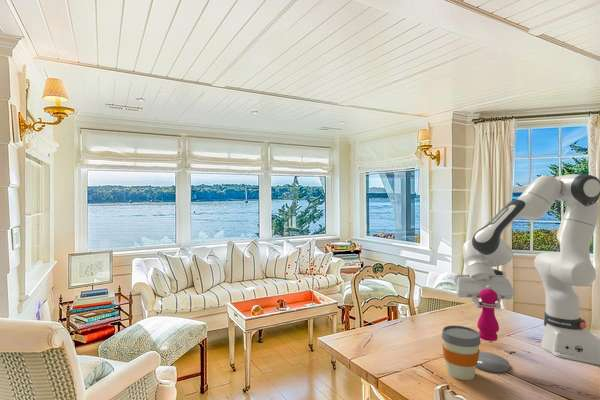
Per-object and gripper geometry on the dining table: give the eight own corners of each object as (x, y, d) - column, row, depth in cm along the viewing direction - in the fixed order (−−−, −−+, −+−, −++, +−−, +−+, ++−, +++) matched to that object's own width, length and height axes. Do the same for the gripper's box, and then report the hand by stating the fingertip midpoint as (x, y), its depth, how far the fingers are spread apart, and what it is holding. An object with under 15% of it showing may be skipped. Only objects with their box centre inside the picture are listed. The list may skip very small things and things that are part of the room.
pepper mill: (501, 342, 129) (502, 288, 128) (480, 341, 130) (481, 287, 130) (494, 334, 136) (495, 283, 136) (474, 333, 137) (475, 282, 137)
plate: (513, 362, 134) (513, 359, 134) (504, 377, 124) (504, 373, 124) (473, 351, 143) (473, 348, 143) (462, 364, 133) (462, 360, 133)
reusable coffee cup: (435, 373, 126) (435, 331, 126) (450, 361, 135) (450, 322, 135) (472, 387, 117) (472, 342, 117) (485, 373, 126) (485, 331, 126)
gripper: (454, 270, 141) (461, 302, 132) (509, 272, 138) (520, 305, 129) (451, 278, 146) (457, 310, 136) (504, 280, 143) (515, 313, 133)
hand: (488, 307), depth 132 cm, fingers closed on pepper mill, 5 cm apart
